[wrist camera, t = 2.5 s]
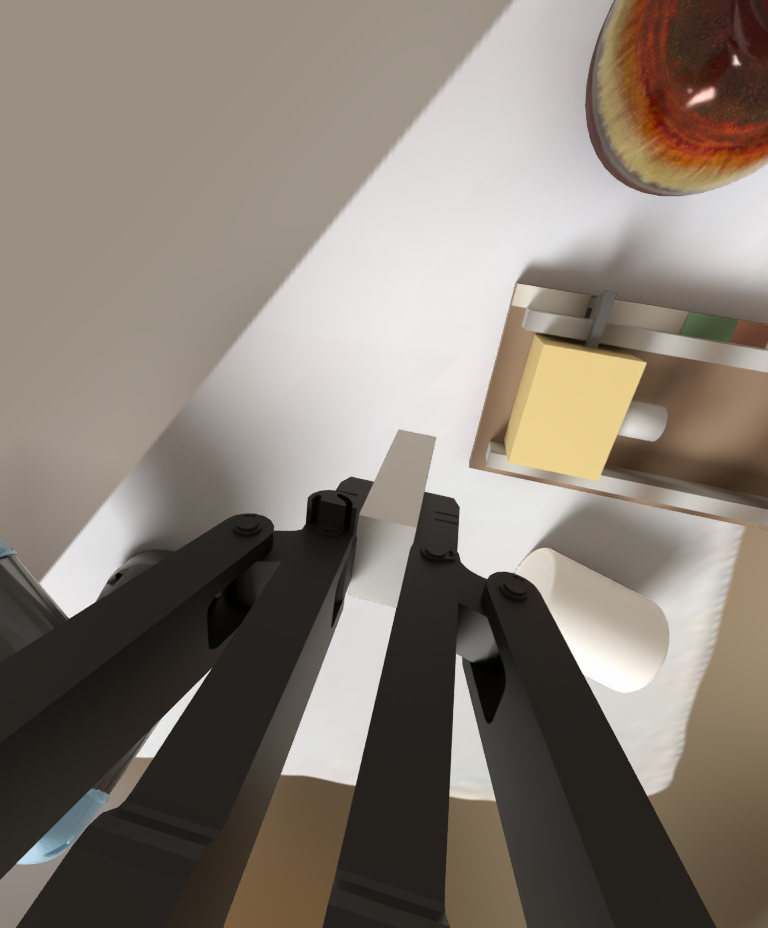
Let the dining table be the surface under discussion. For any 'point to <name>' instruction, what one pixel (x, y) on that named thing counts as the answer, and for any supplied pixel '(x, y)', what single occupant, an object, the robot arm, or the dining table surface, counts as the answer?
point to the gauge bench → (662, 383)
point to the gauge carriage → (578, 403)
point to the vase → (680, 93)
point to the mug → (600, 620)
